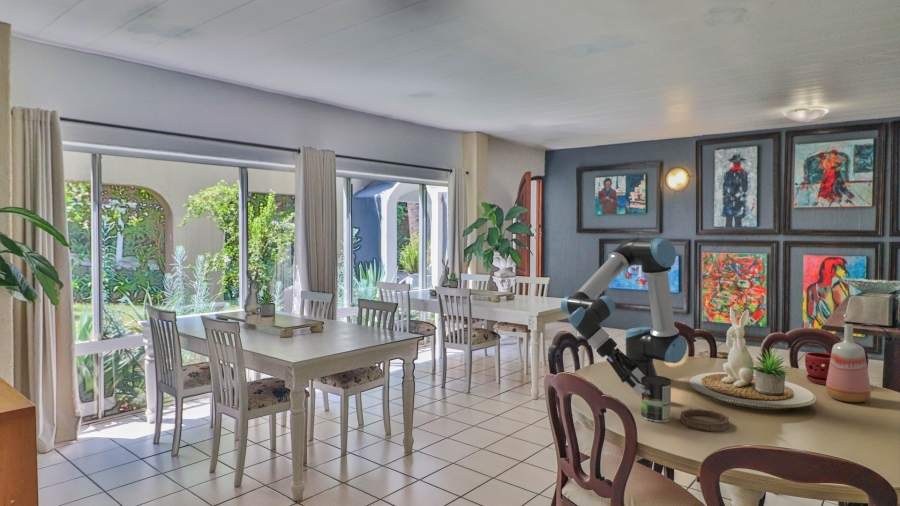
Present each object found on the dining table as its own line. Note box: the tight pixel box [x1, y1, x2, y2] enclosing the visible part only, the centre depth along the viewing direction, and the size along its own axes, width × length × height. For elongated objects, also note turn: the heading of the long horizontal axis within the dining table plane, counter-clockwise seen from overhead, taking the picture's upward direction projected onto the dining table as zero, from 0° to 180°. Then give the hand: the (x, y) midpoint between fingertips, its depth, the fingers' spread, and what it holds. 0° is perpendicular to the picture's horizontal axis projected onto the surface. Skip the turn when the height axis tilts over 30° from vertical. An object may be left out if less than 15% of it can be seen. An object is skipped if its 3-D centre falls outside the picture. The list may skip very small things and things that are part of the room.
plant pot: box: [804, 351, 831, 386], centre depth 243 cm, size 13×13×12 cm
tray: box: [680, 408, 730, 433], centre depth 196 cm, size 15×15×3 cm
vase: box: [825, 323, 872, 404], centre depth 219 cm, size 14×14×30 cm
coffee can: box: [640, 375, 672, 423], centre depth 202 cm, size 10×10×14 cm
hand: (644, 388), depth 203 cm, fingers open, 13 cm apart
